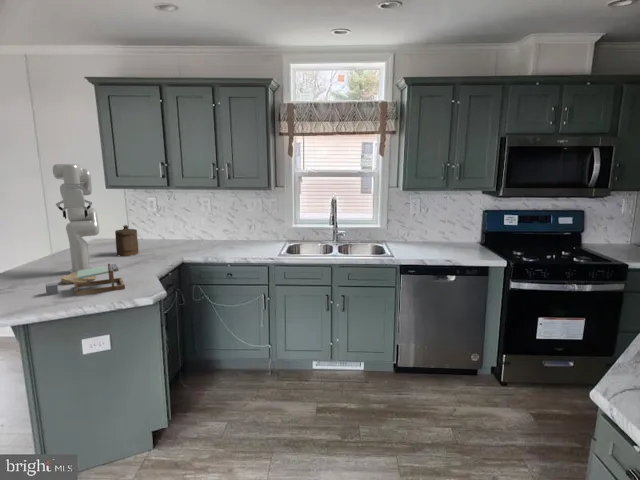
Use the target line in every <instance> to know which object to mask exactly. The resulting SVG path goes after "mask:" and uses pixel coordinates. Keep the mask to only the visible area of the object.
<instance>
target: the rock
mask: <svg viewBox="0 0 640 480" xmlns="http://www.w3.org/2000/svg"><path fill="white" fill-rule="evenodd" d="M82 270H84V269H82ZM96 276H97V275H96ZM96 276H91V277H86V278H81V279H78V272H76V273H68V274H66V275H63V276H62V277H61V280H60V281H61V283H63V284H66V285H70V284H75V283H83V282H91V281H96Z"/></svg>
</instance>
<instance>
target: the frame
mask: <svg viewBox="0 0 640 480" xmlns="http://www.w3.org/2000/svg"><path fill="white" fill-rule="evenodd" d="M107 269H108V272H109V273H108V279H99V280H93V281H87V282H83V283H75V284H74V283H73V284H74V285H73V286H74V296H75V297H76V296H84V295H90V294H96V293H97V294H98V293H103V292H104V293H105V292H111V291H112V292H113V291H121V290H125V289H126V286H125V283H124V280H123V278H122V277H115V278H114V272H113V269H112V266H111V263H107ZM115 283H119V284H120V285H119V284H118V285H115ZM105 284H111V286H107V287H106V286H104V287H98V288H90V289H83V290H78V288H81V287H90V286H97V285H105Z"/></svg>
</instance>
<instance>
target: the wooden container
mask: <svg viewBox="0 0 640 480" xmlns="http://www.w3.org/2000/svg"><path fill="white" fill-rule="evenodd" d="M114 232H115V233H114V234H115V249H116V256H118V255H120V256H119V257H131V256H130V255H133V256H136V254H137V255H139V254H138V253H140V252H139V241H138V230H137V229H134V228H129V225H127V224H125V225H123V228H122V229H116V230H114Z"/></svg>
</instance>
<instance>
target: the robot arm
mask: <svg viewBox="0 0 640 480" xmlns="http://www.w3.org/2000/svg"><path fill="white" fill-rule="evenodd" d="M52 174H53V177H54V178H55V179H56V180H63V183H61V184H60V186H59V191H60V196H61V198H62V200H60V201H59V202H56V203H55V206H56V207H57V208H58V209H59V210H60V211H61V212H62V217H63V218H64V219H65V220H66V219H68V221H69V222H68V223H67V224H66V226H65V230H66V235H67V238H68V243H69V251H70V252H69V253H70V261H71V269H69V274H71V273H76V272H77V271H80V270H82V269H84V270H85V269H91V268H92V267H91V265H90V255H89V247H88V246H89V245H88V241H86V240H85V239H84V238H83V237H92V236H93V237H94V236H97V235H99V232H100V225H99V219H98V213H97V210H96V209H95V208H94V207H92V205H93V202H92V201H89V200H86V199H85V196H90V195H92V192H93V187H92V186H93V185H92V176H91V175H92V174H91V173H90V171H89V169H87V168H83V167H81V165H80V164H77V163H75V164H73V163H55V164H53V166H52ZM86 204H88V205H87V206H86ZM60 205H63V207H62V206H60Z"/></svg>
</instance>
